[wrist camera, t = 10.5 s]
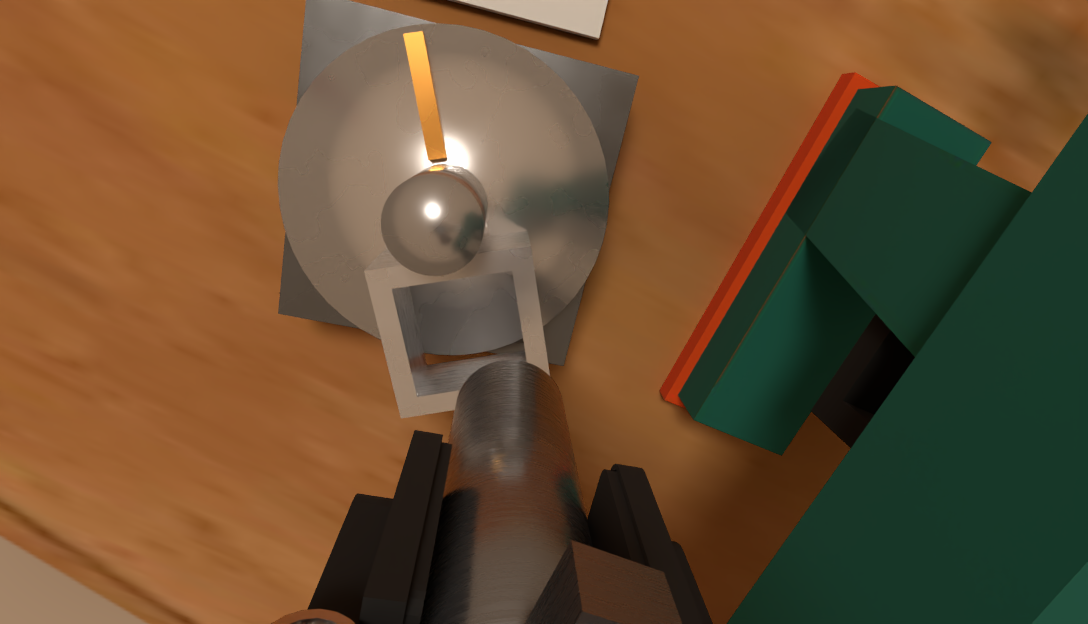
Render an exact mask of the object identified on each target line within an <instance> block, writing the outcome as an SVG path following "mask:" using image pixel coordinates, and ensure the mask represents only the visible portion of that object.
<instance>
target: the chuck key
mask: <svg viewBox="0 0 1088 624" xmlns="http://www.w3.org/2000/svg"><path fill="white" fill-rule="evenodd" d="M448 444H452V449H451V455H450V460H449V466H448V472H447V477H446V483H445V488H444V494H443V500H442V505H441V511H440V516H439V522H438V527H437V533H436V539H435V544H434V550H433V555H432V561H431V566H430V572H429V578H428V583H427V589H426V594H425V599H424V605H423V610H422V615H421V620H420V624H682V622H681V619H680V616H679V613H678V611H677V608H676V605H675V602H674V599H673V597H672V594H671V591H670V588H669V585H668V583H667V580H666V577H665V574H664V572H662V571H659V570H656V569H653V568H651V567H648V566H645V565H642V564H639V563H636V562H633V561H631V560H628V559H625V558H622V557H619V556H616V555H613V554H610V553H608V552H605V551H602V550H599V549H596V548H593V546H592V541H591V536H590V531H589V527H588V522H587V517H586V512H585V507H584V502H583V498H582V493H581V488H580V483H579V478H578V473H577V469H576V464H575V459H574V454H573V449H572V444H571V439H570V435H569V430H568V425H567V420H566V415H565V410H564V406H563V401H562V396H561V393H560V391H559V388H558V386H557V385H556V383H555V382H554V380H553V379H552V378H551V377H550V376H549V375H548V374H547V373H546V372H545V371H544V370H542V369H540V368H539V367H537V366H535V365H533V364H530V363H527V362H524V361H519V360H502V361H496V362H493V363H489V364H487V365H485V366H483V367H481V368H479V369H478V370H476V371H475V372H474V373H473V374H471V375H470V376H469V377H468V378H467V380H466V381H465V382H464V384H463V385H462V387H461V389H460V391H459V394H458V396H457V401H456V406H455V411H454V416H453V421H452V426H451V432H450V437H449V442H448Z"/></svg>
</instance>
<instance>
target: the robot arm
mask: <svg viewBox="0 0 1088 624" xmlns="http://www.w3.org/2000/svg"><path fill="white" fill-rule="evenodd" d="M442 437H443V435H441V434H435V433H429V432H423V431H417V430H415V431H414V434H413V437H412V440H411V444H410V447H409V450H408V453H407V457H406V460H405V463H404V466H403V469H402V473H401V476H400V479H399V482H398V486H397V489H396V492H395V495H394V498H393V499H390V498H384V497H377V496H370V495H364V494H356V495H355V497H354V499H353V501H352V504H351V506H350V509H349V511H348V513H347V516H346V518H345V521H344V523H343V525H342V528H341V530H340V533H339V535H338V537H337V540H336V542H335V545H334V547H333V549H332V552H331V554H330V557H329V559H328V562H327V564H326V566H325V569H324V571H323V574H322V576H321V578H320V581H319V583H318V586H317V588H316V590H315V593H314V595H313V598H312V600H311V602H310V605H309V607H308V610H301V611H298V612H295V613H291V614H288V615H285V616H283V617H281V618H280V619H278V620H276V621H275V622H273V623H271V624H420V620H421V615H422V610H423V605H424V599H425V594H426V589H427V583H428V578H429V572H430V566H431V561H432V555H433V550H434V544H435V539H436V533H437V527H438V522H439V516H440V511H441V505H442V500H443V494H444V488H445V483H446V477H447V472H448V466H449V460H450V455H451V449H452V444H448V443H442ZM587 522H588V527H589V531H590V536H591V541H592V546H593V548H596V549H599V550H602V551H605V552H608V553H610V554H613V555H616V556H619V557H622V558H625V559H628V560H631V561H633V562H636V563H639V564H642V565H645V566H648V567H651V568H653V569H656V570H659V571H662V572H664V574H665V577H666V580H667V583H668V585H669V588H670V591H671V594H672V597H673V599H674V602H675V605H676V608H677V611H678V613H679V616H680V619H681V622H682V624H713V623H712V621H711V618H710V616H709V613H708V611H707V608H706V606H705V603H704V601H703V598H702V596H701V593H700V591H699V589H698V586H697V584H696V581H695V579H694V576H693V574H692V571H691V569H690V566H689V564H688V561H687V559H686V556H685V554H684V551H683V550H682V548H681V546H680V545H679V544H678V543H677V542H673V541H671V539H670V536H669V534H668V531H667V528H666V526H665V523H664V521H663V518H662V515H661V513H660V510H659V508H658V505H657V502H656V500H655V497H654V495H653V492H652V490H651V487H650V484H649V482H648V479H647V477H646V474H645V472H644V470H643V469H642V468H638V467H632V466H626V465H620V464H614V465H613V467H612V468H611V470H605V469H604V470H603V471H602V473H601V476H600V479H599V482H598V486H597V489H596V492H595V496H594V499H593V502H592V506H591V509H590V512H589V516H588V519H587Z"/></svg>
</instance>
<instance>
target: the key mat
mask: <svg viewBox="0 0 1088 624" xmlns="http://www.w3.org/2000/svg"><path fill="white" fill-rule="evenodd" d="M449 1H452V2H456V3H460V4H464V5H467V6H471V7H475V8H479V9H482V10H486V11H490V12H494V13H497V14H501V15H505V16H509V17H512V18H516V19H520V20H524V21H527V22H531V23H535V24H539V25H542V26H546V27H550V28H554V29H557V30H561V31H565V32H569V33H572V34H576V35H580V36H584V37H587V38H591V39H595V40H598V39H599V36H600V32H601V28H602V24H603V19H604V15H605V11H606V7H607V2H608V0H449Z"/></svg>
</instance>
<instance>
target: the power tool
mask: <svg viewBox="0 0 1088 624" xmlns="http://www.w3.org/2000/svg"><path fill="white" fill-rule="evenodd" d="M991 143H992V142H990V141H989V140H987V139H985V138H984V137H982V136H980V135H979V134H977V133H975V132H974V131H972V130H970V129H969V128H967V127H965V126H963V125H962V124H960V123H958V122H957V121H955V120H953V119H952V118H950V117H948V116H947V115H945V114H943V113H942V112H940V111H938V110H936V109H935V108H933V107H931V106H930V105H928V104H926V103H925V102H923V101H921V100H920V99H918V98H916V97H915V96H913V95H911V94H910V93H908V92H906V91H904V90H903V89H901V88H899V87H898V86H887V87H879V86H878V85H876V84H874V83H873V82H871V81H869V80H868V79H866V78H864V77H862V76H861V75H859V74H857V73H856V72H855V73H847V74H842V75H841V77H840V79H839V81H838V82H837V84H836V86H835V88H834V89H833V91H832V93H831V94H830V96H829V98H828V100H827V101H826V103H825V105H824V107H823V108H822V110H821V112H820V114H819V115H818V117H817V119H816V120H815V122H814V124H813V126H812V127H811V129H810V131H809V133H808V134H807V136H806V138H805V139H804V141H803V143H802V145H801V146H800V148H799V150H798V152H797V153H796V155H795V157H794V159H793V160H792V162H791V164H790V165H789V167H788V169H787V171H786V172H785V174H784V176H783V178H782V179H781V181H780V183H779V185H778V186H777V188H776V190H775V191H774V193H773V195H772V197H771V198H770V200H769V202H768V204H767V205H766V207H765V209H764V210H763V212H762V214H761V216H760V217H759V219H758V221H757V223H756V224H755V226H754V228H753V230H752V231H751V233H750V235H749V236H748V238H747V240H746V242H745V243H744V245H743V247H742V249H741V250H740V252H739V254H738V256H737V257H736V259H735V261H734V262H733V264H732V266H731V268H730V269H729V271H728V273H727V275H726V276H725V278H724V280H723V281H722V283H721V285H720V287H719V288H718V290H717V292H716V294H715V295H714V297H713V299H712V301H711V302H710V304H709V306H708V307H707V309H706V311H705V313H704V314H703V316H702V318H701V320H700V321H699V323H698V325H697V327H696V328H695V330H694V332H693V333H692V335H691V337H690V339H689V340H688V342H687V344H686V346H685V347H684V349H683V351H682V352H681V354H680V356H679V358H678V359H677V361H676V363H675V365H674V366H673V368H672V370H671V372H670V373H669V375H668V377H667V378H666V380H665V382H664V384H663V385H662V387H661V389H660V393H661V395H662V396H663V398H664V400H666V401H669V402H671V403H673V404H676V405H678V406H681V407H683V408H686V409H687V410H688V412H689V414H690V415H691V417H692V418H693V420H695V421H698V422H700V423H702V424H705V425H707V426H710V427H712V428H715V429H717V430H720V431H722V432H725V433H727V434H730V435H732V436H734V437H737V438H739V439H742V440H744V441H747V442H749V443H752V444H754V445H757V446H759V447H762V448H764V449H766V450H769V451H771V452H774V453H776V454H779V455H781V456H782V454H783V453H784V451H785V450H786V448H787V447H788V445H789V444H790V442H791V441H792V439H793V438H794V436H795V435H796V433H797V432H798V430H799V429H800V427H801V426H802V425H803V423H804V422H805V420H806V419H807V417H808V416H809V414H810V413H811V411H812V412H813V413H814V414H815V415H816V416H817V417H818V418H819V419H820V420H821V421H822V422H823V423H824V424H825V425H827V426H828V427H829V428H830V429H831V430H832V431H833V432H834V433H835V434H836V435H837V436H838V437H839V438H840V439H841V440H843V441H844V442H845V443H846V444H847V445H848V446H849V447H850V448H851V449H850V450H849V452H848V453H847V454H846V456H845V457H844V459H843V460H842V462H841V463H840V464H839V466H838V467H837V469H836V470H835V471H834V473H833V474H832V476H831V477H830V478H829V480H828V481H827V483H826V484H825V486H824V487H823V488H822V490H821V491H820V493H819V494H818V495H817V497H816V498H815V500H814V501H813V502H812V504H811V505H810V507H809V508H808V510H807V511H806V512H805V514H804V515H803V517H802V518H801V519H800V521H799V522H798V524H797V525H796V526H795V528H794V529H793V531H792V532H791V534H790V535H789V536H788V538H787V539H786V541H785V542H784V543H783V545H782V546H781V548H780V549H779V550H778V552H777V553H776V555H775V556H774V558H773V559H772V560H771V562H770V563H769V565H768V566H767V567H766V569H765V570H764V572H763V573H762V574H761V576H760V577H759V579H758V580H757V582H756V583H755V584H754V586H753V587H752V589H751V590H750V591H749V593H748V594H747V596H746V597H745V598H744V600H743V601H742V603H741V604H740V606H739V607H738V608H737V610H736V611H735V613H734V614H733V615H732V617H731V618H730V620H729V621H728V623H727V624H1088V114H1087V116H1086V117H1085V118H1084V120H1083V121H1082V123H1081V124H1080V125H1079V127H1078V128H1077V130H1076V131H1075V133H1074V134H1073V135H1072V137H1071V138H1070V140H1069V141H1068V142H1067V144H1066V145H1065V147H1064V148H1063V149H1062V151H1061V152H1060V154H1059V155H1058V157H1057V158H1056V159H1055V161H1054V162H1053V164H1052V165H1051V166H1050V168H1049V169H1048V171H1047V172H1046V173H1045V175H1044V176H1043V178H1042V179H1041V181H1040V182H1039V183H1038V185H1037V186H1036V188H1035V189H1034V190H1033V192H1029V191H1027V190H1025V189H1023V188H1021V187H1019V186H1017V185H1015V184H1013V183H1011V182H1009V181H1007V180H1005V179H1002V178H1000V177H998V176H996V175H994V174H992V173H990V172H988V171H986V170H984V169H982V168H980V167H978V166H976V165H977V164H978V162H979V161H980V159H981V158H982V156H983V155H984V153H985V152H986V150H987V149H988V147H989V146H990V144H991Z"/></svg>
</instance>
